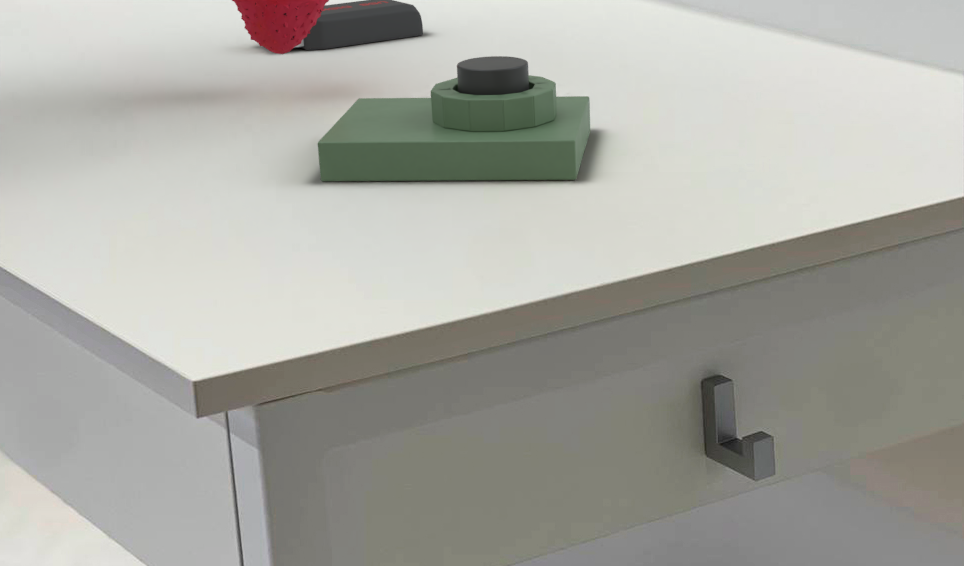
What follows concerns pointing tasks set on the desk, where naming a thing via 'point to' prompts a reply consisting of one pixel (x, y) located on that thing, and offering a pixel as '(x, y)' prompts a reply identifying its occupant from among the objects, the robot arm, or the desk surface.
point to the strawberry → (279, 21)
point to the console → (459, 137)
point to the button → (492, 75)
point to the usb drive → (363, 24)
